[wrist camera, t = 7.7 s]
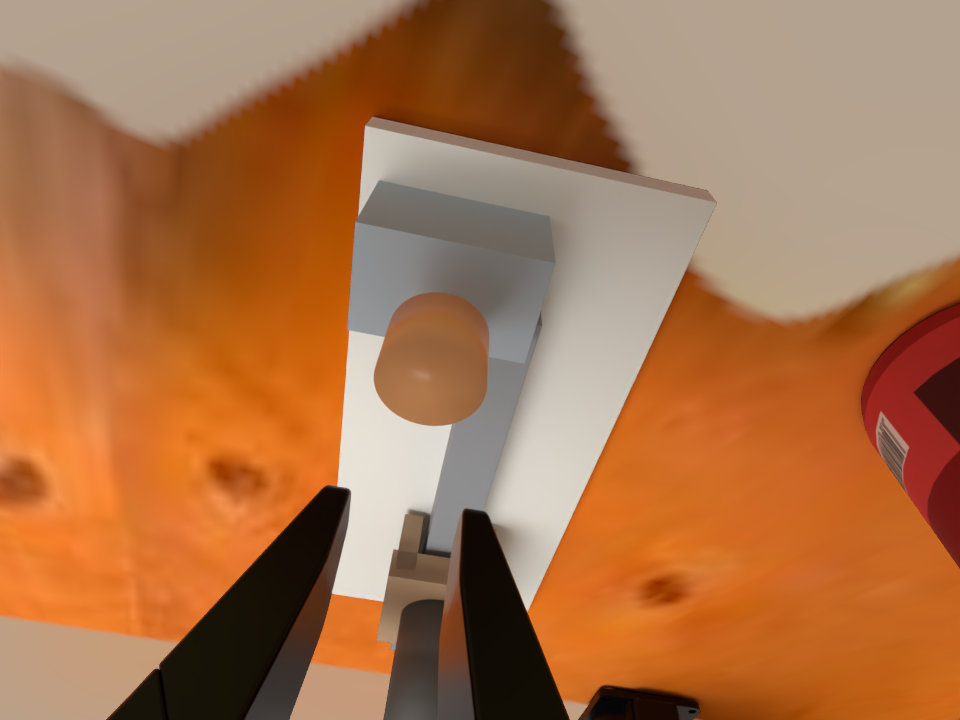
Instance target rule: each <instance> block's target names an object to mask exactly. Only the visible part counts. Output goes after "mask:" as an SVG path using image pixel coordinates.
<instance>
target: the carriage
mask: <svg viewBox="0 0 960 720" xmlns="http://www.w3.org/2000/svg"><path fill="white" fill-rule="evenodd" d="M423 518H424V517H421V516H415V515H409V514H405V517H404V523H403V528H402V533H401V538H400V544H399V549H398V550H396V549H393V554H392V559H391V564H390V569H389V574H388V579H387V585H386V590H385V596H384V602H383V607H382V613H381V618H380V624H379V629H378V635H377V640H376V641H383V642H389V643H396V648H395V654H394V660H393V666H392V672H391V678H390V684H389V690H388V696H387V702H386V708H385V714H384V720H437V710H438V664H439V641H440V632H441V623H442V616H443V609H444V601H445V594H446V587H447V579H448V572H449V565H450V558H445V557H439V556H433V555H427V554H420V553H418V550H419V544H420V537H421V531H422V524H423ZM494 530H495V532H496V534H497V529H494Z"/></svg>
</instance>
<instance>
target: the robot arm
mask: <svg viewBox="0 0 960 720" xmlns="http://www.w3.org/2000/svg"><path fill="white" fill-rule="evenodd" d="M350 502H351V490H350V489H348V488H344V487H338V486H332V485H327V486H325V487H324V488H322V489H321V490H320V492H319V493H318V494H317V495H316V496H315V497H314V498H313V499H312V500H311V501H310V502H309V503H308V504H307V506H306V507H305V508H304V509H303V510H302V511H301V512H300V513H299V514H298V515H297V516H296V517H295V518H294V520H293V521H292V522H291V523H290V524H289V525H288V526H287V527H286V528H285V529H284V530H283V531H282V532H281V534H280V535H279V536H278V537H277V538H276V539H275V540H274V541H273V542H272V543H271V544H270V545H269V546H268V548H267V549H266V550H265V551H264V552H263V553H262V554H261V555H260V556H259V557H258V558H257V559H256V560H255V562H254V563H253V564H252V565H251V566H250V567H249V568H248V569H247V570H246V571H245V572H244V573H243V574H242V576H241V577H240V578H239V579H238V580H237V581H236V582H235V583H234V584H233V585H232V586H231V587H230V588H229V590H228V591H227V592H226V593H225V594H224V595H223V596H222V597H221V598H220V599H219V600H218V601H217V602H216V604H215V605H214V606H213V607H212V608H211V609H210V610H209V611H208V612H207V613H206V614H205V615H204V616H203V617H202V619H201V620H200V621H199V622H198V623H197V624H196V625H195V626H194V627H193V628H192V629H191V630H190V631H189V633H188V634H187V635H186V636H185V637H184V638H183V639H182V640H181V641H180V642H179V643H178V644H177V645H176V647H175V648H174V649H173V650H172V651H171V652H170V653H169V654H168V655H167V656H166V657H165V658H164V660H163V661H162V662H161V663H160V665H159V669H160V670H159V669H154V670H153V671H152V672H151V673H150V674H149V675H148V676H147V677H146V679H145V680H144V681H143V682H142V683H141V684H140V685H139V686H138V687H137V688H136V689H135V690H134V692H133V693H132V694H131V695H130V696H129V697H128V698H127V699H126V700H125V701H124V702H123V703H122V704H121V705H120V706H119V707H118V708H117V709H116V710H115V711H114V712H113V713H112V714H111V715H110V716H109V717H108V718H107V719H106V720H289V719H290V716H291V713H292V711H293V708H294V705H295V702H296V700H297V697H298V694H299V692H300V689H301V686H302V684H303V681H304V678H305V675H306V672H307V670H308V667H309V665H310V662H311V659H312V656H313V654H314V651H315V648H316V646H317V643H318V640H319V637H320V634H321V631H322V628H323V625H324V622H325V618H326V614H327V611H328V607H329V603H330V599H331V595H332V590H333V586H334V582H335V578H336V574H337V570H338V566H339V562H340V557H341V553H342V549H343V545H344V541H345V537H346V533H347V528H348V522H349V512H350ZM700 712H701V711H700V707H699V704H698V703H697V702H694V701H688V700H681V699H674V698H667V697H661V696H654V695H647V694H640V693H633V692H626V691H620V690H613V689H602V690H599V691H598V693H597V694H596V695H595V697H594V698H593V700H592V701H591V702H590V704H589V705H588V707H587V708H586V710H585V711H584V713H583V714H582V715H581V717H580V718H579V719H578V720H693V719H694V718H695V717H696V716H697V715H698V714H699V713H700ZM437 720H570V719H569V716H568V714H567V711H566V709H565V706H564V704H563V701H562V699H561V696H560V694H559V691H558V689H557V686H556V683H555V681H554V678H553V676H552V673H551V671H550V668H549V666H548V663H547V661H546V658H545V656H544V653H543V651H542V648H541V646H540V643H539V641H538V638H537V636H536V633H535V631H534V628H533V625H532V623H531V620H530V618H529V615H528V613H527V610H526V608H525V605H524V603H523V600H522V598H521V595H520V593H519V590H518V588H517V585H516V583H515V580H514V578H513V575H512V573H511V570H510V567H509V565H508V562H507V560H506V557H505V555H504V552H503V550H502V547H501V545H500V542H499V540H498V537H497V535H496V532H495V530H494V527H493V525H492V522H491V520H490V517H489V515H488V514H487V513H486V512H485V511H481V510H475V509H469V508H465V509H463V510H462V512H461V515H460V518H459V522H458V525H457V529H456V532H455V536H454V540H453V544H452V550H451V558H450V565H449V572H448V579H447V587H446V594H445V601H444V609H443V616H442V623H441V632H440V641H439V664H438V710H437Z"/></svg>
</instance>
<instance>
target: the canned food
mask: <svg viewBox="0 0 960 720" xmlns="http://www.w3.org/2000/svg"><path fill="white" fill-rule="evenodd" d="M861 405H862V415H863V419H864V424H865V428H866V431H867V434H868V436H869V439H870V441H871V443H872V444H873V446H874V447H875V449H876V450H877V452H878V453H879V454H880V456H881V457H882V459H883V460H884V462H885V463H886V464H887V466H888V467H889V469H890V470H891V471H892V473H893V474H894V476H895V477H896V479H897V480H898V481H899V483H900V484H901V486H902V487H903V489H904V490H905V491H906V493H907V494H908V496H909V497H910V498H911V500H912V501H913V503H914V504H915V506H916V507H917V508H918V510H919V511H920V513H921V514H922V516H923V517H924V518H925V520H926V521H927V523H928V524H929V525H930V527H931V528H932V530H933V531H934V533H935V534H936V535H937V537H938V538H939V540H940V541H941V543H942V544H943V545H944V547H945V548H946V550H947V551H948V552H949V554H950V555H951V557H952V558H953V560H954V561H955V562H956V564H957V565H958V567H959V568H960V304H958V305H956V306H953V307H951V308H948V309H946V310H943V311H941V312H939V313H937V314H935V315H933V316H931V317H930V318H928V319H926V320H924V321H922V322H921V323H919V324H917V325H916V326H915V327H913V328H912V329H910V330H909V331H908V332H906V333H905V334H904V335H902V336H901V337H899V338H898V339H897V340H896V341H895V342H894V343H893V344H892V345H891V346H890V347H889V348H888V349H887V350H886V351H885V352H884V353H883V354H882V356H881V357H880V358H879V360H878V361H877V362H876V364H875V365H874V366H873V368H872V369H871V371H870V374H869V376H868V378H867V380H866V382H865V384H864V388H863V393H862V397H861Z"/></svg>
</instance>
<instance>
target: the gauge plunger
mask: <svg viewBox="0 0 960 720" xmlns="http://www.w3.org/2000/svg"><path fill="white" fill-rule="evenodd" d="M489 345H490V333H489V328H488V325H487V322H486V320H485V318H484V317H483V315H482V314H481V312H480V311H479V310H478V309H477V308H476V307H475V306H474V305H472V304H471V303H470V302H468V301H467V300H465V299H463V298H461V297H458V296H456V295H453V294H449V293H443V292H429V293H423V294H419V295H416V296H413V297H411V298H409V299H408V300H406V301H405V302H403V303H402V304H401V305H400V306H399V307H398V308H397V309H396V310H395V312H394V314H393V315H392V317H391V320H390V323H389V326H388V329H387V332H386V335H385V338H384V341H383V344H382V348H381V351H380V354H379V357H378V360H377V363H376V366H375V370H374V386H375V389H376V392H377V394H378V396H379V398H380V399H381V401H382V402H383V403H384V404H385V405H386V407H387V408H389V409H390V410H391V411H392V412H393V413H395V414H396V415H398V416H399V417H401V418H403V419H405V420H408V421H410V422H413V423H416V424H421V425H427V426H444V425H450V424H454V423H457V422H460V421H462V420H464V419H466V418H468V417H469V416H471V415H472V414H473V413H474V412H475V411H476V410H477V409H478V408H479V407H480V406H481V404H482V402H483V401H484V398H485V395H486V391H487V379H488V362H489Z"/></svg>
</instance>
